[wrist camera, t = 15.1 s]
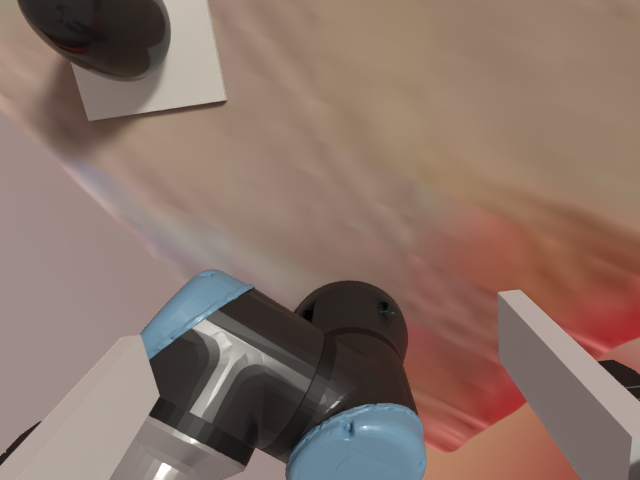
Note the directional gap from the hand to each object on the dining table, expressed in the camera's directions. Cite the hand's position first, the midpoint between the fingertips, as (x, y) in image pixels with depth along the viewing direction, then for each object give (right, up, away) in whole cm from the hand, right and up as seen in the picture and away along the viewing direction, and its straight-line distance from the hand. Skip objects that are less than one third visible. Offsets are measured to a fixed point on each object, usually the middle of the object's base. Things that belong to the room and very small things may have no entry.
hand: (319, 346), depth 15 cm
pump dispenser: (-20, +26, +28) cm, 43 cm away
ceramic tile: (-19, +26, +29) cm, 43 cm away
